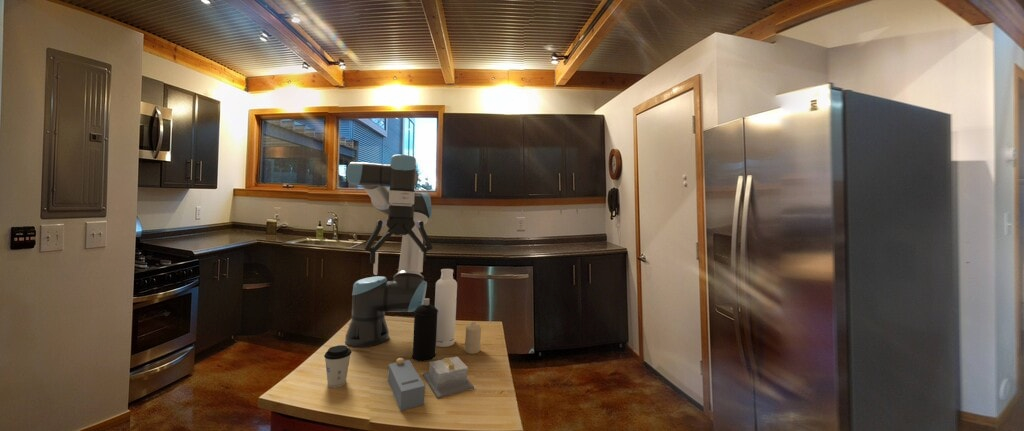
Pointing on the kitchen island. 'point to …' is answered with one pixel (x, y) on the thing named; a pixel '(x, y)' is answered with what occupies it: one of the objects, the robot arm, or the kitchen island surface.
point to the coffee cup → (337, 365)
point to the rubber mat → (448, 390)
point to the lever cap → (447, 372)
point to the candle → (473, 338)
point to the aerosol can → (425, 332)
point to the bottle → (446, 308)
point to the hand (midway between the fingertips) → (398, 272)
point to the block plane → (406, 384)
